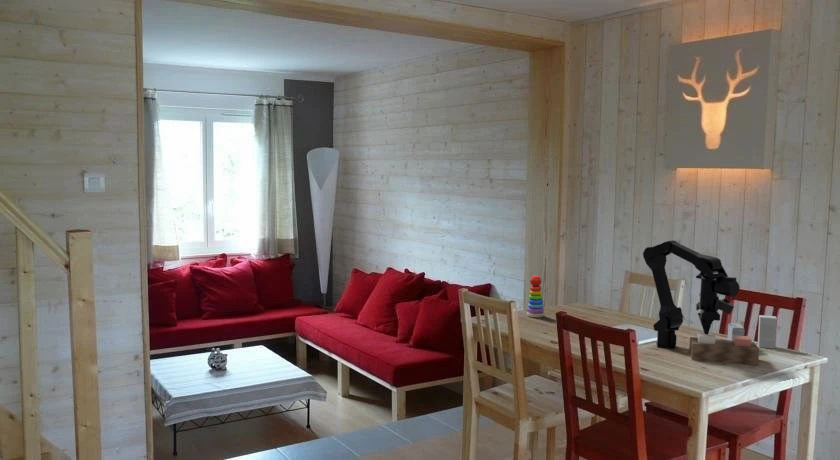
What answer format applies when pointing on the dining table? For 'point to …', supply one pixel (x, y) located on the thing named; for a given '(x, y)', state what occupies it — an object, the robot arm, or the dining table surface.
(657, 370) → the dining table surface
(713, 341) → the ivory key
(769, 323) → the skincare box
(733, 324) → the medicine box
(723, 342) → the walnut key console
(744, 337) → the brick-red key
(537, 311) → the stacking toy
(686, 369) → the dining table surface
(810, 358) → the dining table surface
